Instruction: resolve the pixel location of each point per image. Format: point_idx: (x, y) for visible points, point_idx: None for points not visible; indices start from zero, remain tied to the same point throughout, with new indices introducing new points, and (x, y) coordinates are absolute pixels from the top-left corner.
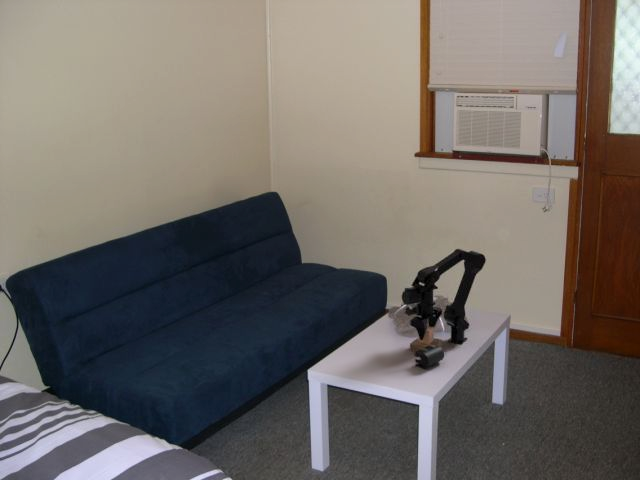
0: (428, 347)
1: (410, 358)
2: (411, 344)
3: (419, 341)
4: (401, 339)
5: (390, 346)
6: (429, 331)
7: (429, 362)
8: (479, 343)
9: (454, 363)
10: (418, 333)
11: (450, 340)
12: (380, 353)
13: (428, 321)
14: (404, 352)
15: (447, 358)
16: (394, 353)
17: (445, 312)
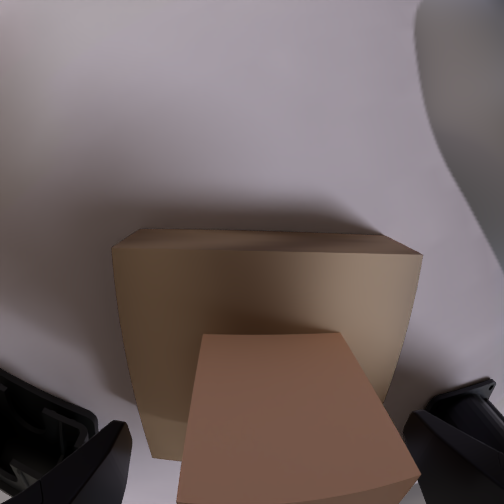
0: (23, 483)
1: (21, 301)
2: (115, 266)
3: (202, 347)
4: (372, 40)
5: (156, 14)
6: None
7: None
8: (417, 481)
9: (142, 497)
10: (49, 477)
11: (434, 412)
12: (6, 51)
13: (500, 491)
14: (78, 201)
15: (174, 477)
16: (29, 135)
17: None
